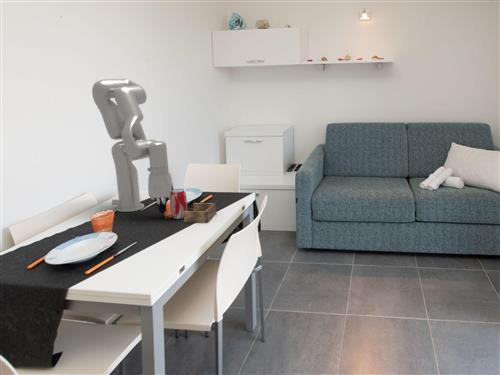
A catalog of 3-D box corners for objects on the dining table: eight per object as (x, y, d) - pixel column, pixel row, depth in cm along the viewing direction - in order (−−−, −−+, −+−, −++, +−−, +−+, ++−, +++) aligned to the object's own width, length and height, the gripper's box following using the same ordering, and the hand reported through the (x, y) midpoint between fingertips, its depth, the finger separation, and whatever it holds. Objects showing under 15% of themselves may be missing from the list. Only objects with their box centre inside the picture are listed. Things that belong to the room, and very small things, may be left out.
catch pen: (184, 222, 210) (183, 211, 209) (194, 212, 224) (193, 203, 223) (207, 222, 208) (206, 212, 207) (216, 213, 222) (215, 203, 221)
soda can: (186, 219, 214) (184, 191, 212) (170, 219, 215) (167, 192, 212) (188, 214, 221) (186, 188, 219) (172, 215, 222) (170, 188, 219)
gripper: (139, 172, 213) (143, 214, 217) (173, 172, 210) (176, 214, 214) (146, 169, 220) (150, 209, 224) (179, 168, 217) (182, 210, 221)
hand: (163, 212), depth 219 cm, fingers closed
